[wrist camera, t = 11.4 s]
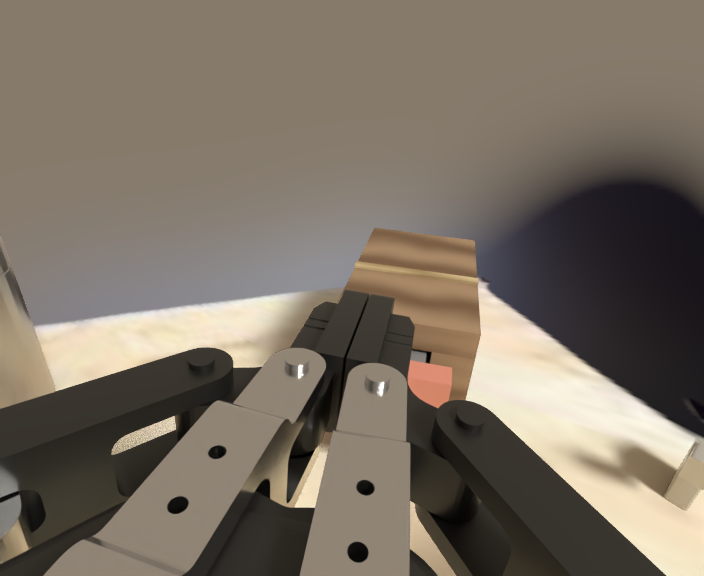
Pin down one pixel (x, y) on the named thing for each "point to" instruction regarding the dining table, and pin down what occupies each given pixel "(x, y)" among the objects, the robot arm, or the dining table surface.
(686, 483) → the lighter
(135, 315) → the dining table surface
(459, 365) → the block
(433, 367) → the salmon square plate
